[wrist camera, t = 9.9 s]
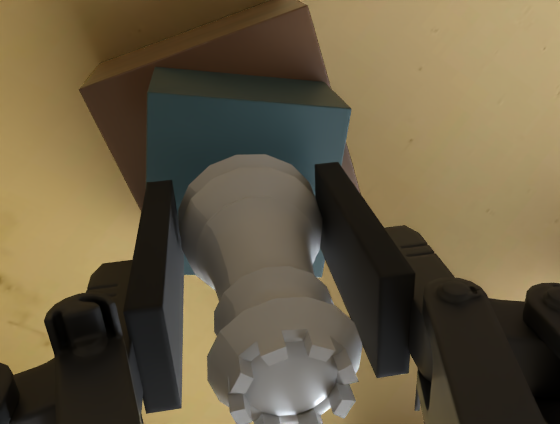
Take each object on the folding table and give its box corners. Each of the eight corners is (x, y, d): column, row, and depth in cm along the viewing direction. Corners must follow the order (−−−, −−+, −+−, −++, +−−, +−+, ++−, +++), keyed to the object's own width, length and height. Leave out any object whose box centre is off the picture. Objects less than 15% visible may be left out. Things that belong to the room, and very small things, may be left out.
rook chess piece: (150, 234, 17) (129, 436, 10) (229, 120, 16) (269, 258, 9) (263, 292, 19) (313, 501, 12) (341, 193, 18) (451, 358, 11)
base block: (98, 63, 24) (77, 89, 20) (286, -6, 24) (307, 4, 20) (177, 227, 28) (175, 278, 24) (337, 168, 28) (365, 209, 24)
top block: (154, 66, 20) (146, 91, 16) (324, 81, 21) (352, 108, 17) (151, 223, 23) (144, 274, 19) (302, 228, 24) (322, 278, 20)
